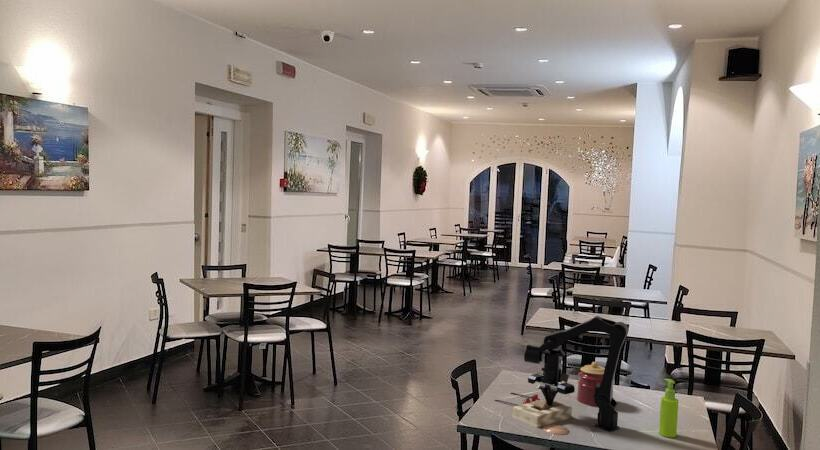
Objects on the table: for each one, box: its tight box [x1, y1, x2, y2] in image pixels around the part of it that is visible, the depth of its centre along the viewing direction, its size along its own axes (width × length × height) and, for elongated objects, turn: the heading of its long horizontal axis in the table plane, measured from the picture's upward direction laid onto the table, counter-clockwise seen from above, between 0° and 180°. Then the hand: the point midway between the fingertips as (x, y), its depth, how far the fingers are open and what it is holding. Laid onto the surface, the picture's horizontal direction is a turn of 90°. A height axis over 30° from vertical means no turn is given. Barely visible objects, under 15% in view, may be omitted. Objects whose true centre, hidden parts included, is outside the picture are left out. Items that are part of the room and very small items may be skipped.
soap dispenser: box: [658, 378, 679, 438], centre depth 233 cm, size 6×7×20 cm
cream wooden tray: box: [512, 398, 573, 428], centre depth 244 cm, size 20×12×5 cm, turn 128°
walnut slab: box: [533, 399, 549, 411], centre depth 244 cm, size 8×4×2 cm
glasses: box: [493, 392, 541, 406], centre depth 262 cm, size 14×16×5 cm
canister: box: [576, 361, 605, 408], centre depth 266 cm, size 13×13×18 cm
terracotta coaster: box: [542, 423, 569, 436], centre depth 232 cm, size 9×9×1 cm
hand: (549, 405), depth 247 cm, fingers closed
